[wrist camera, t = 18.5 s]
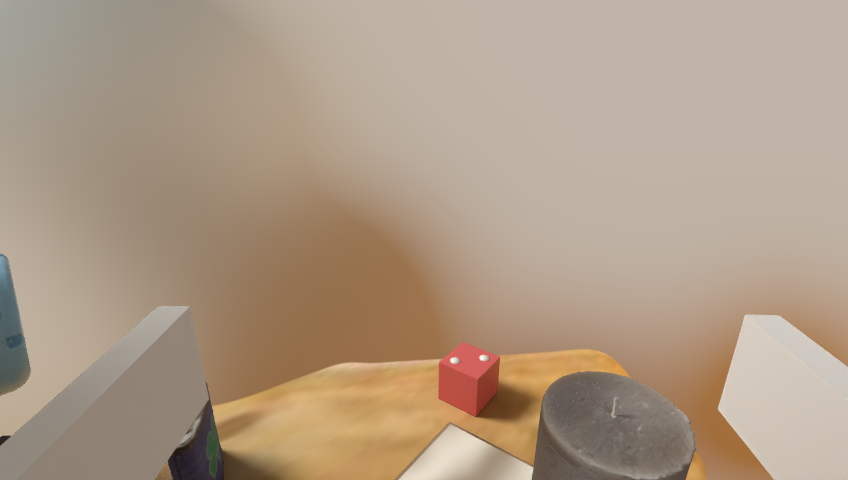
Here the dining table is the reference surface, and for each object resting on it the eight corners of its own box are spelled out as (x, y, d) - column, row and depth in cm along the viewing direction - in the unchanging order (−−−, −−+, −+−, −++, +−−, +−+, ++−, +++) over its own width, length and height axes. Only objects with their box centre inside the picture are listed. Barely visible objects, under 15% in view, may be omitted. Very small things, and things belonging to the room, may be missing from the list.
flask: (197, 451, 47) (176, 362, 43) (228, 444, 47) (211, 357, 43) (181, 535, 38) (154, 435, 34) (219, 526, 39) (197, 427, 35)
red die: (438, 398, 54) (439, 361, 52) (461, 376, 58) (462, 341, 56) (475, 416, 51) (477, 378, 49) (497, 392, 55) (499, 356, 53)
